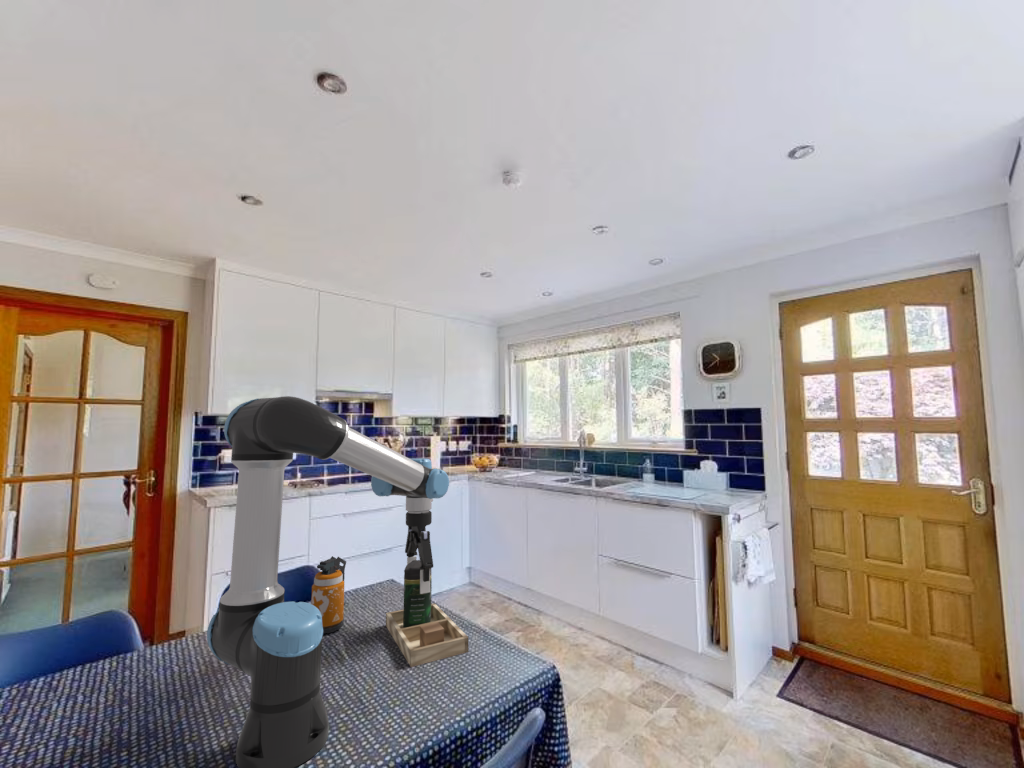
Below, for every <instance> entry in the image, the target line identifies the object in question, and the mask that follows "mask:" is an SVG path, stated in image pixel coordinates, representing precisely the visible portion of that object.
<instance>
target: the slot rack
mask: <svg viewBox="0 0 1024 768" xmlns="http://www.w3.org/2000/svg"><path fill="white" fill-rule="evenodd" d="M403 613H404V608H403V609H399V610H394V611H389V612H386V613H385V627H386V628H387V630H388V633H390V635H391V636H392V638H393V641H394V643H396V645H397V646H398V649H399V650H400V652H401V653H402V655H403V656H404V658H405V660H406V662H407V663H408V665H409V666H410V668H414V667H417V666H421V665H424V664H428V663H432V662H435V661H439V660H443V659H447V658H450V657H451V658H452V657H454V656H458V655H463V654H465V653H469V636H468V635H467V634H466V633H465V632H464V631H463V630H462V629H461V627H459V626H458V625H457V624H456V623H455V622H454V621H453V620H452V619H451V618H450V617H449V616H448V615H447V614H446V613H445V612H444V611H443V610H442V609H441V608H440V607H439V606H438V605H437V604H436V603H431V622H429V623H425V624H420V625H416V626H411V627H407V628H403ZM435 622H438V623H439V624H440V625H441V626H442V627H443V628H444V642H440V643H436V644H432V645H427V646H423V647H420V626H422V625H426V624H431V623H435Z"/></svg>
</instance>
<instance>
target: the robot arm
mask: <svg viewBox="0 0 1024 768" xmlns="http://www.w3.org/2000/svg"><path fill="white" fill-rule="evenodd" d="M223 431H224V433H223V434H224V437H225V440H226V442H227V443H228V444H229V445H230V446H231V447H232V448H231V457H230V458H231V459H230V463H232V464H233V466H234V467H236V468H237V470H238V476H237V477H238V479H237V489H236V490H237V492H236V501H235V503H236V504H235V505H236V506H235V516H234V517H235V518H234V529H233V539H232V541H233V542H232V555H231V567H230V568H231V570H230V582H229V589H227V591H225V593H224V594H223V595H221V596H220V598H219V599H220V600H219V605H218V606H219V608H217V611H216V613H215V614H212V615H213V616H212V617H211V619H210V621H209V623H208V626H207V630H206V640H207V641H206V642H207V646H208V648H209V650H210V651H211V652H212V654H213V655H215V658H217V659H218V660H219V661H220V662H223V664H225V665H228V666H232V667H233V668H235V669H237V670H239V671H241V672H243V673H245V674H246V675H248V676H249V677H250V680H251V681H250V698H249V700H250V701H249V709H248V713H247V715H246V718H245V721H244V724H243V727H242V729H241V731H240V734H239V737H238V740H237V743H236V750H235V764H237V765H236V767H237V766H238V767H239V768H296V767H298V766H300V765H301V764H305V762H307V761H308V760H310V759H311V758H313V757H314V756H315V755H317V754H318V753H319V752H320V751H321V749H322V748H323V747H324V746H325V744H326V743H327V741H328V738H329V733H330V731H329V727H330V721H329V716H328V713H327V710H326V706H325V704H324V700H323V697H322V694H321V693H322V692H321V677H322V676H321V673H322V672H321V671H322V648H323V647H322V646H323V636H324V634H323V626H322V615H321V613H320V611H319V609H318V608H317V607H315V606H314V605H312V604H311V603H309V602H304V601H299V602H296V601H285V587H283V585H281V584H279V582H278V574H279V559H280V558H279V557H280V544H281V542H280V541H281V527H282V513H283V498H284V497H283V496H284V480H285V470H286V467H287V466H288V465H289V464H291V463H292V462H293V460H294V454H300V455H305V456H306V455H307V456H311V457H314V458H316V459H319V460H321V461H322V460H323V461H324V460H325V461H327V460H329V459H331V460H334V461H336V462H339V463H341V464H343V465H346V466H348V467H350V468H353V469H355V470H357V471H360V472H362V473H365V474H367V475H369V476H371V480H370V482H371V484H370V487H371V490H372V492H373V493H374V495H376V496H377V497H390V496H399V497H400V496H401V497H405V511H407V512H406V513H405V526H407V536H406V542H405V543H406V544H405V547H404V548H405V550H404V553H405V554H406V557H407V558H406V565H407V564H409V563H410V562H412V561H413V560H418V559H417V557H419V560H420V563H421V567H420V568H419V570H420V594H423V593H429V592H430V568H431V569H432V568H434V561H433V560H434V559H433V554H432V553H433V552H432V545H431V535H430V534H431V532H430V530H426V527H427V526H430V525H431V524H432V523H433V522H432V520H433V519H432V517H433V516H432V514H433V513H432V511H431V509H432V502H433V501H434V499H441V498H443V497H444V496H446V494H447V492H448V490H449V487H450V479H449V475H448V474H447V472H446V471H444V470H443V469H438V468H433V465H432V460H431V459H429V458H424V457H423V458H422V457H421V458H419V457H418V458H410V457H407V456H405V455H403V454H401V453H399V451H395V450H394V449H392V448H390V447H389V446H386V445H384V444H382V443H381V442H378V441H376V440H374V439H372V438H371V437H368V436H367V435H365V434H363V433H361V432H359V431H357V430H355V429H353V428H351V427H349V426H348V422H347V421H346V419H344V418H342V417H340V416H339V415H337V414H335V413H333V412H331V411H329V410H328V409H325V408H323V407H322V406H319V405H317V404H315V403H313V402H310V401H308V400H305V399H303V398H300V397H297V396H288V395H285V396H279V397H278V396H277V397H276V396H275V397H263V398H255V399H251V400H248V401H245V402H242V403H240V404H238V405H237V406H236V407H235V408H233V409H232V410H231V411H230V413H229V414H228V416H227V418H226V420H225V423H224V427H223ZM426 563H427V564H426ZM238 767H237V768H238Z"/></svg>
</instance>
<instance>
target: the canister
mask: <svg viewBox="0 0 1024 768" xmlns="http://www.w3.org/2000/svg"><path fill="white" fill-rule="evenodd" d="M340 564H342V565H340ZM346 565H347V561H346V560H345V559H343V558H341V557H339V556H337V557H335V556H331V557H330V558H328V559H326V560H323V561H322V560H321V561H320V562H319V564H317V566H316V568H317V570H318V569H319V572H317V573H316V574H315V576H314V578H313V584H312V585H311V598H310V599H311V601H310V602H311V603H310V604H312V605H314V606H315V607H317V608H318V609H319V611H320V613H321V615H322V626H323V635H327V634H331V633H334V632H335V631H337V630H340V629H341V628H343V626H344V613H345V610H344V608H345V605H346V604H345V570H346V569H345V568H346ZM326 633H327V634H326Z"/></svg>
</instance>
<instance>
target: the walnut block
mask: <svg viewBox="0 0 1024 768" xmlns="http://www.w3.org/2000/svg"><path fill="white" fill-rule="evenodd" d="M440 642H444V628H443V627H442V626H441V625H440V624H439V623H438V622H435V623H431V624H426V625H422V626H420V647H423V646H427V645H432V644H436V643H440Z"/></svg>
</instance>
